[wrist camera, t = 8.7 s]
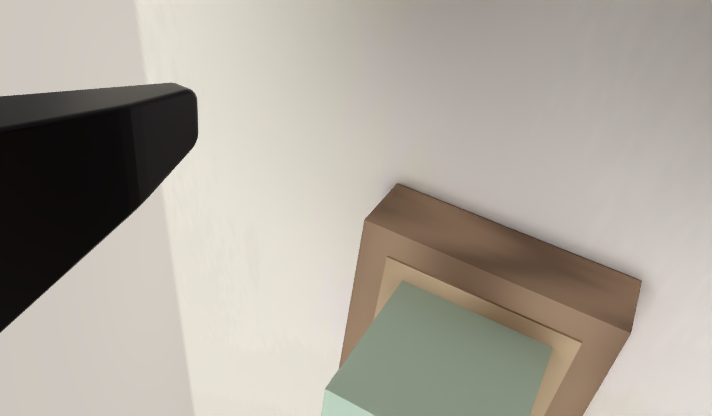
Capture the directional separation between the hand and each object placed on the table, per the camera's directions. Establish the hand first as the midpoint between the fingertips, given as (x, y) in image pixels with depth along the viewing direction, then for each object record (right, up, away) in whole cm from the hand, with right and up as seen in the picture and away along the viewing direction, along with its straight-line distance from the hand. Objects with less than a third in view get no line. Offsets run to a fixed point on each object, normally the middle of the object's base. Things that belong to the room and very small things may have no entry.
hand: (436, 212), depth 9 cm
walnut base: (+4, -5, +18) cm, 19 cm away
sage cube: (+3, -6, +16) cm, 17 cm away
